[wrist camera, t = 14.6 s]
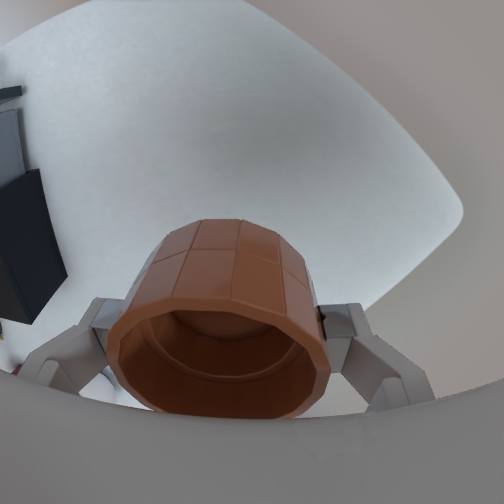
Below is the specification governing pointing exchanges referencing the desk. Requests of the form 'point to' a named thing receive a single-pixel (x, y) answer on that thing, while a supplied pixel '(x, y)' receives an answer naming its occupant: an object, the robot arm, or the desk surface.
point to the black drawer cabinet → (27, 250)
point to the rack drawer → (10, 140)
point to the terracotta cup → (221, 326)
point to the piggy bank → (99, 390)
